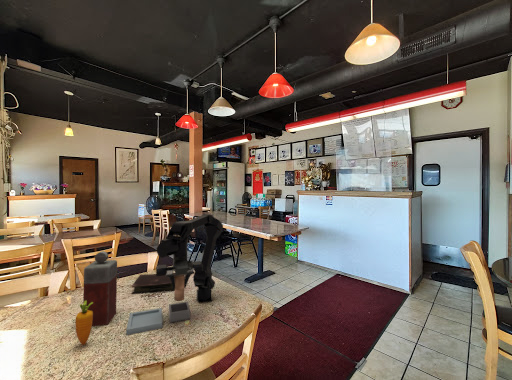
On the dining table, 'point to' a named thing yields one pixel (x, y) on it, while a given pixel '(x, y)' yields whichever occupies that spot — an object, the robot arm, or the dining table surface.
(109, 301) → the dark red canister
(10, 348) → the dining table surface
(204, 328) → the dining table surface
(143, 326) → the slate tray
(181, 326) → the dining table surface
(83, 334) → the carrot
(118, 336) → the dining table surface
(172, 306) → the grey square bin
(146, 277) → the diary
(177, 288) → the dowel pin
